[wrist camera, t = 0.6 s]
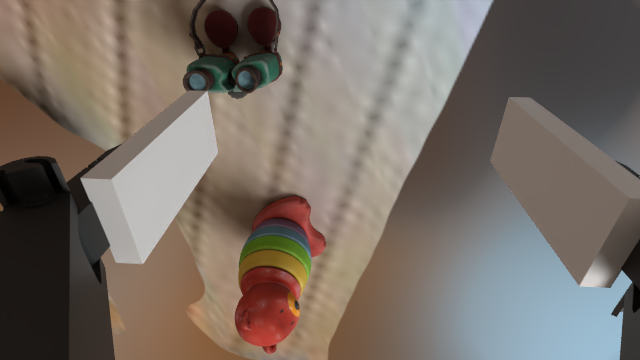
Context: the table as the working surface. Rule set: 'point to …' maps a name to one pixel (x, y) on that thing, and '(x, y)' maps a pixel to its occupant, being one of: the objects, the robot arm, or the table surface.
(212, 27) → the binoculars
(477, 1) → the table surface
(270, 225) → the stacking bear
